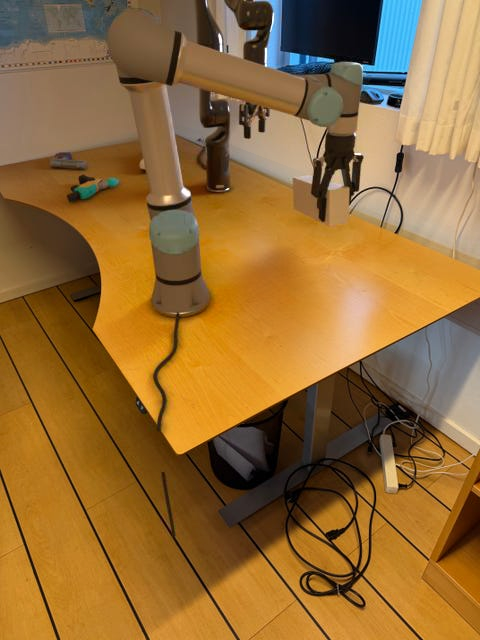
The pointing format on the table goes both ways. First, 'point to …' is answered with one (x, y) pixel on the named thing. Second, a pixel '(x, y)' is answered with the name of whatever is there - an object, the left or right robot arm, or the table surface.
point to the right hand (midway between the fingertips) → (254, 135)
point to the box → (335, 197)
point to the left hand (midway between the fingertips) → (332, 218)
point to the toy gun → (66, 161)
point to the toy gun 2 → (90, 187)
